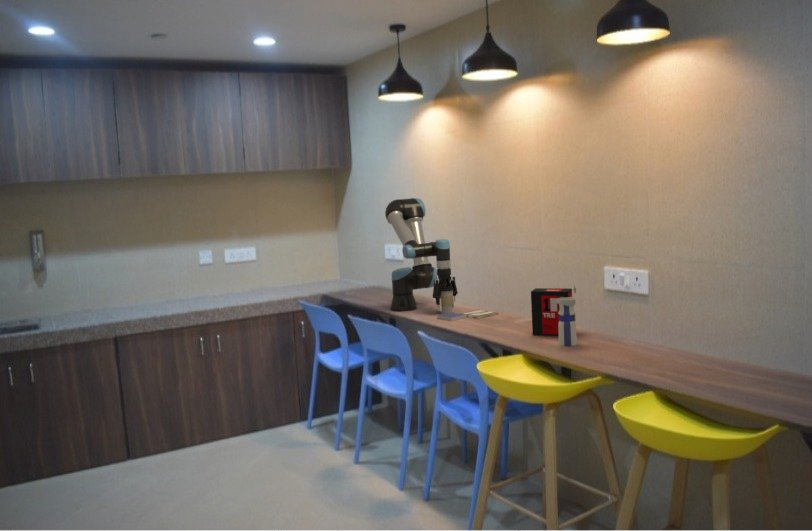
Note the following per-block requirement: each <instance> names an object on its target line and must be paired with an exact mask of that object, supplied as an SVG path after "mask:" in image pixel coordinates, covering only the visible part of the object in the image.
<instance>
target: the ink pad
mask: <svg viewBox="0 0 812 531" xmlns="http://www.w3.org/2000/svg"><path fill="white" fill-rule="evenodd" d="M436 318H437V320H443V321H447V322H448V321H449V322H452V321H457V320H461V319H465V318H468V317H467V315H466V314H461V313H459V312H453V311H452V313H447V314H439V315H436Z"/></svg>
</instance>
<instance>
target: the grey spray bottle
mask: <svg viewBox="0 0 812 531" xmlns="http://www.w3.org/2000/svg"><path fill="white" fill-rule="evenodd" d="M572 291H573V294H574V295H575V294H577V287H576V285H574V286H573V288H572ZM557 303H558V304H559V307H560V310H559V312H558V314H559V325H558V328H559V336H558V341H557V342H558V343H557V344H558V345H559V346H561V347H573V346H577V345H578V340H577V339H578V338H577V324H576V321H577V320H576V319H577V317H576V316H577V314H576V311H575V307H574V306H575V305H576V298H575V297H573V296H572V297H563V298H558V299H557Z"/></svg>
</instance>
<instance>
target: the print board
mask: <svg viewBox="0 0 812 531" xmlns="http://www.w3.org/2000/svg"><path fill="white" fill-rule="evenodd" d="M460 314H466V315H467V318H470V319H477V320H480V319H484V318H487V317H493V316H497V315H499V312H498V311H492V310H483V309H474V310H470V311H466V312H462V313H460Z"/></svg>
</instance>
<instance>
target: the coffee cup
mask: <svg viewBox="0 0 812 531" xmlns="http://www.w3.org/2000/svg"><path fill="white" fill-rule="evenodd" d="M439 288H441V290H440V291H441V296H440V299H441V307H442V311H440V315H443V314H447V313H452V312H453V308H452V305H453V290H454V289H453V288H452V286H446V285H444V287H439Z"/></svg>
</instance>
